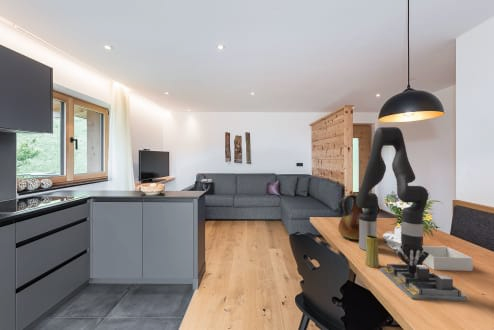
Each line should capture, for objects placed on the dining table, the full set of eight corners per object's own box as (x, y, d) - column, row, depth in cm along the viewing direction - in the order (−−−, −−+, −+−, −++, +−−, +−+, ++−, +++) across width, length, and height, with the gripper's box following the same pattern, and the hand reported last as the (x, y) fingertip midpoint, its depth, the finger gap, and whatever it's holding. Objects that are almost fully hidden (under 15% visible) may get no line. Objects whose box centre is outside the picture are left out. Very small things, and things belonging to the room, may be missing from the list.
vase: (366, 261, 117) (366, 234, 117) (380, 264, 113) (380, 236, 113) (363, 265, 112) (364, 237, 112) (377, 269, 108) (378, 239, 108)
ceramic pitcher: (377, 243, 143) (377, 196, 143) (345, 242, 143) (345, 196, 143) (362, 233, 163) (362, 192, 162) (334, 233, 163) (334, 192, 163)
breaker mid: (414, 278, 97) (414, 264, 96) (424, 278, 96) (424, 265, 96) (419, 282, 94) (419, 268, 93) (429, 282, 93) (429, 268, 93)
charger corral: (412, 256, 122) (412, 245, 122) (446, 257, 121) (447, 246, 121) (433, 269, 108) (433, 257, 108) (472, 270, 107) (472, 258, 106)
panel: (380, 270, 107) (380, 263, 107) (424, 272, 105) (424, 264, 105) (411, 298, 85) (411, 289, 85) (467, 300, 83) (467, 291, 83)
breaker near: (435, 289, 88) (435, 274, 88) (446, 289, 88) (446, 274, 88) (441, 293, 85) (441, 278, 85) (452, 293, 85) (452, 278, 85)
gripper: (422, 230, 98) (421, 269, 98) (390, 229, 99) (390, 268, 99) (435, 236, 91) (434, 278, 91) (401, 235, 92) (400, 277, 92)
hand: (411, 273), depth 95 cm, fingers closed
